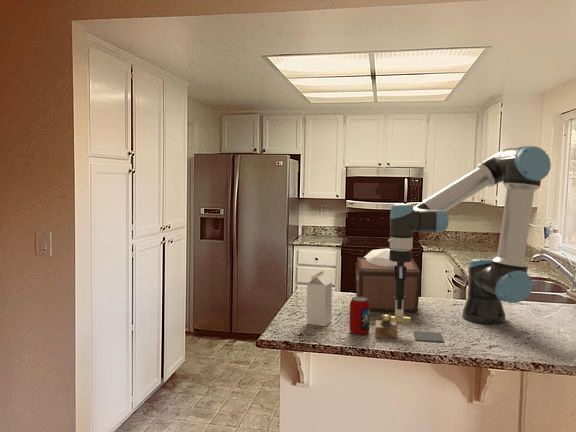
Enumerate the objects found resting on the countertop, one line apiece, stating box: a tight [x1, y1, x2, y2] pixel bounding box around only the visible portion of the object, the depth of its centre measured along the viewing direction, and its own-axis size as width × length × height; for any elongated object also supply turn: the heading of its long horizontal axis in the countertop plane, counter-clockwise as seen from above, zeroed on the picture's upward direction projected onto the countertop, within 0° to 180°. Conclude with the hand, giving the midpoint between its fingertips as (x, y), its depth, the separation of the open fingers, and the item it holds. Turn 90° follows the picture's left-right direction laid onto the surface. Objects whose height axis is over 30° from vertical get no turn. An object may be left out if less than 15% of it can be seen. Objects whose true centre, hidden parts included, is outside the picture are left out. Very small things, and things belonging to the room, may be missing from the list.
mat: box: [413, 330, 445, 344], centre depth 156 cm, size 9×9×1 cm
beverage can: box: [349, 296, 371, 336], centre depth 160 cm, size 7×7×12 cm
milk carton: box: [306, 270, 333, 327], centre depth 171 cm, size 7×7×19 cm
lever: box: [381, 313, 412, 324], centre depth 158 cm, size 9×3×2 cm, turn 79°
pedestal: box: [374, 319, 398, 340], centre depth 159 cm, size 7×8×4 cm
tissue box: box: [355, 248, 422, 313], centre depth 198 cm, size 24×28×24 cm
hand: (399, 317), depth 160 cm, fingers closed
